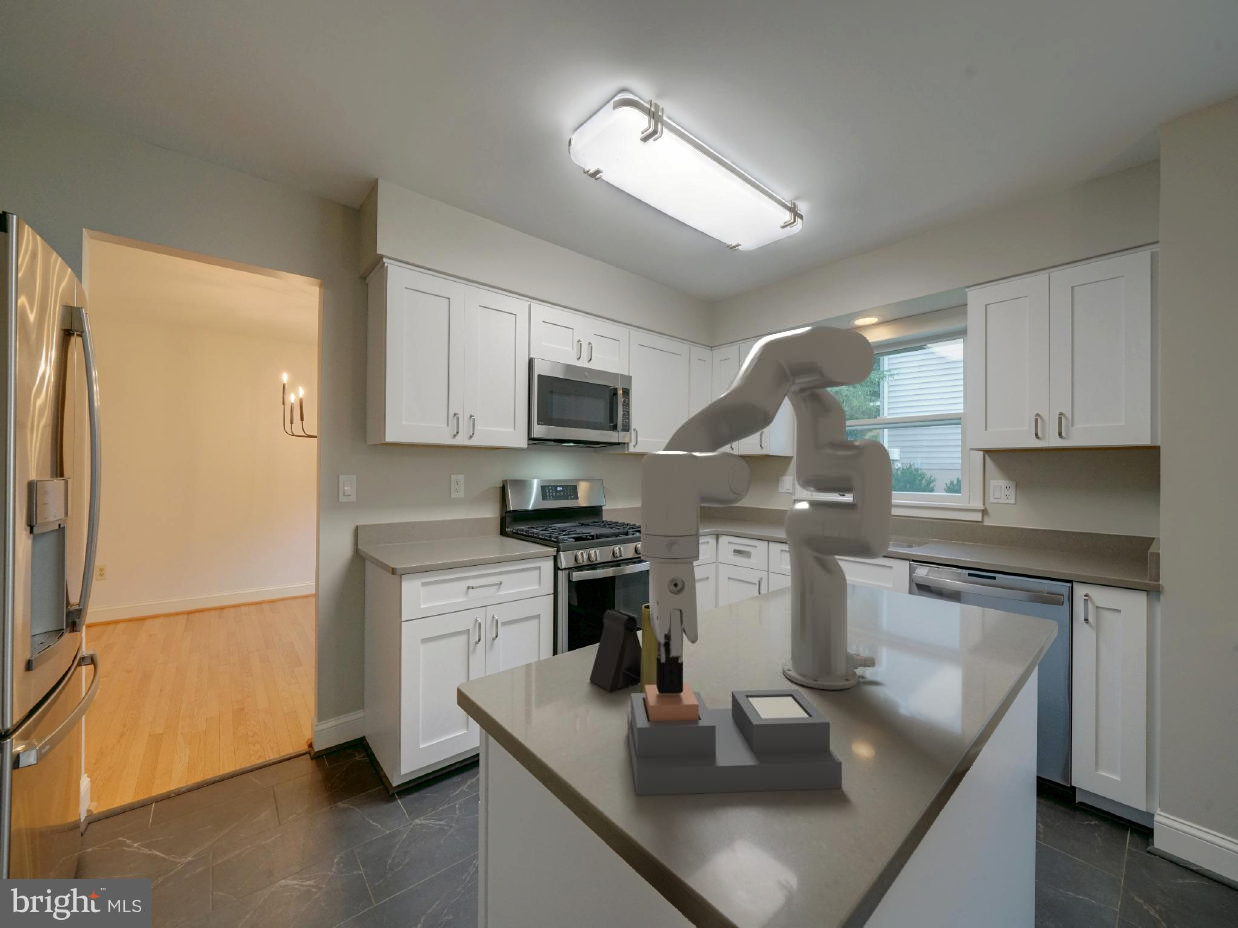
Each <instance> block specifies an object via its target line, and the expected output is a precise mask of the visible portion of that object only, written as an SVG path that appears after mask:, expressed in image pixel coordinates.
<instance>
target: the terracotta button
mask: <svg viewBox="0 0 1238 928" xmlns="http://www.w3.org/2000/svg"><path fill="white" fill-rule="evenodd" d="M693 692H694V691H693V689H692V687H691V685H690V684H689V683H683V692H682V693H673V694H660V693H659V692H658V689H657V686H656V685H645V711H646V715H647V719H648V722H650V721H686V720H699V704H698V702H697V700H696V698H695V695H694V693H693Z"/></svg>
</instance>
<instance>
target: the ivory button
mask: <svg viewBox="0 0 1238 928" xmlns="http://www.w3.org/2000/svg"><path fill="white" fill-rule="evenodd" d="M748 700H749V702H750V703H751V705H752V706H753V708H754V709H755V710H756V712H757V713H758V715H759V716H760V718H794V717H809V716H808V715H807V714H806V713H805V712H804V711H803V710H802V709H801V707H800V706H799V705H798V704H797V703H796V702H795V701H794V700H793V698H792V697H763V698H748Z"/></svg>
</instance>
